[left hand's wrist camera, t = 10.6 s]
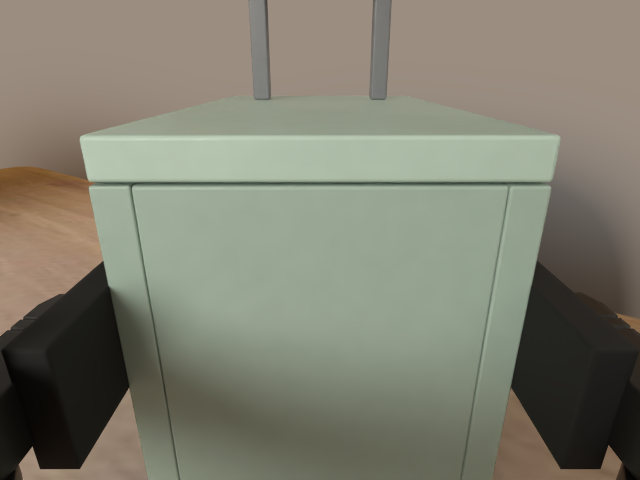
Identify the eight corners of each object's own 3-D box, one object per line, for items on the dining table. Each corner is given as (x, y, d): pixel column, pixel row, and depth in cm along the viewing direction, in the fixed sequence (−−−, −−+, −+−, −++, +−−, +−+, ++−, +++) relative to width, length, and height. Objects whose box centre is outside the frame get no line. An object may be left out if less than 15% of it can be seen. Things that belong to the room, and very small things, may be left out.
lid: (234, 114, 23) (221, -70, 20) (406, 114, 23) (419, -70, 20) (86, 183, 8) (-44, -451, 5) (554, 183, 8) (684, -453, 5)
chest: (244, 288, 26) (231, 116, 22) (396, 288, 26) (408, 116, 22) (158, 532, 12) (87, 186, 8) (482, 532, 12) (553, 186, 8)
